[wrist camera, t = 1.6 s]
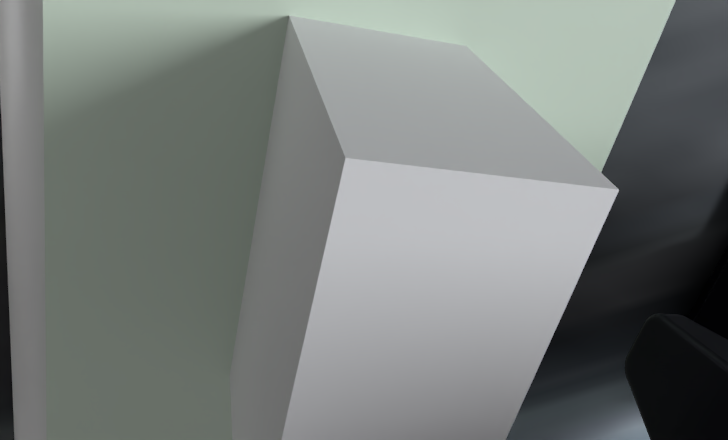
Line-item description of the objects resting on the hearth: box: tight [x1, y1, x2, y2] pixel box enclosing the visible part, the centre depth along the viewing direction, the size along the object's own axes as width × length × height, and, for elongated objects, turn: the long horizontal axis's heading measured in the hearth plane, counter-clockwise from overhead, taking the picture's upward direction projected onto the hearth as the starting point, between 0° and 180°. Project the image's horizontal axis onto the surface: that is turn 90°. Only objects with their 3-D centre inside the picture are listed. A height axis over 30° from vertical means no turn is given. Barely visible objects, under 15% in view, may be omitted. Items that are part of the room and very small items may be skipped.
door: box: [0, 0, 676, 440], centre depth 9 cm, size 9×16×6 cm, turn 167°
